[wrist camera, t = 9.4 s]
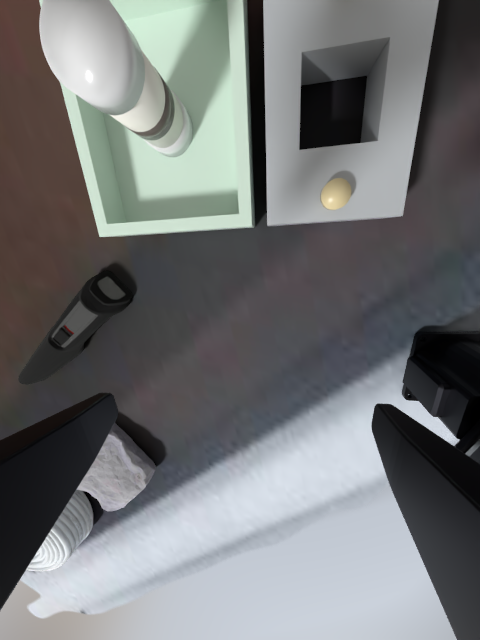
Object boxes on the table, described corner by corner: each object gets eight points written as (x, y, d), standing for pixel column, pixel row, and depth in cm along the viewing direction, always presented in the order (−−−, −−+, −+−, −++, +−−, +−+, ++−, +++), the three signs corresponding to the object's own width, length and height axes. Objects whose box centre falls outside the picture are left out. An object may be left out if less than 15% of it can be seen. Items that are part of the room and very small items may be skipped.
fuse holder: (414, -26, 12) (466, -120, 9) (380, 218, 17) (408, 215, 13) (264, 5, 14) (261, -69, 10) (268, 226, 18) (267, 225, 14)
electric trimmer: (32, 354, 26) (1, 370, 23) (108, 265, 21) (81, 272, 18) (58, 377, 27) (32, 396, 24) (139, 297, 22) (117, 308, 19)
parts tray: (246, -15, 13) (239, -80, 11) (255, 227, 18) (251, 226, 15) (77, 22, 15) (32, -26, 12) (124, 236, 19) (99, 236, 17)
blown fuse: (189, 95, 15) (108, -35, 8) (196, 154, 16) (131, 89, 9) (144, 103, 15) (26, -14, 8) (153, 159, 17) (57, 102, 9)
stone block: (97, 392, 29) (55, 445, 31) (71, 416, 24) (23, 477, 26) (174, 443, 31) (131, 490, 32) (163, 475, 26) (114, 528, 28)
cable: (17, 430, 31) (-40, 474, 25) (121, 502, 34) (91, 557, 28) (-21, 484, 37) (-74, 529, 31) (70, 541, 40) (37, 592, 34)
